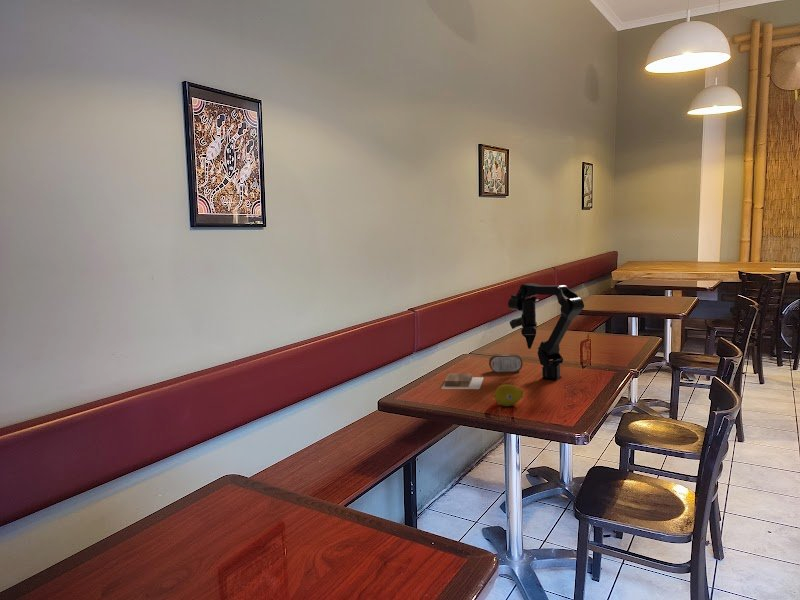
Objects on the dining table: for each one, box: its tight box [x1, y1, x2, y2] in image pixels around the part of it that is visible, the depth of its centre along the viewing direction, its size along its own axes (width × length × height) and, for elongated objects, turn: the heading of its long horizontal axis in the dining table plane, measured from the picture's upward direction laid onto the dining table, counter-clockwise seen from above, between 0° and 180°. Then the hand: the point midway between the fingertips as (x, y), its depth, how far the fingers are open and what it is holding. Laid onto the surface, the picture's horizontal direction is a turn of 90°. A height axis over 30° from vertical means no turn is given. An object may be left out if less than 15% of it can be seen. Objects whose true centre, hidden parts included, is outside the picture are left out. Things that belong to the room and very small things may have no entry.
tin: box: [488, 353, 524, 373], centre depth 261 cm, size 15×3×8 cm, turn 84°
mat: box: [440, 376, 484, 390], centre depth 247 cm, size 16×18×1 cm
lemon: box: [492, 383, 524, 407], centre depth 213 cm, size 11×8×8 cm
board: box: [444, 372, 473, 387], centre depth 247 cm, size 2×12×10 cm
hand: (529, 346), depth 256 cm, fingers open, 9 cm apart
